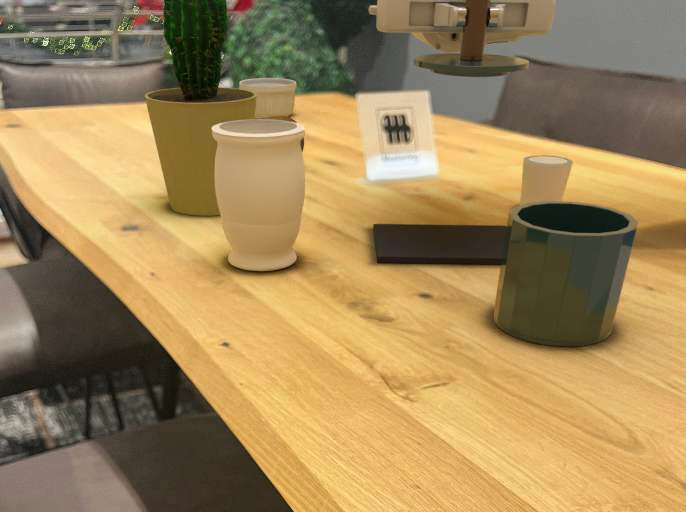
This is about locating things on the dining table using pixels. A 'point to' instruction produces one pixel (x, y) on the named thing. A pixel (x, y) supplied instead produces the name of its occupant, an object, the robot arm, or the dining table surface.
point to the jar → (260, 190)
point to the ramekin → (271, 95)
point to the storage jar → (563, 272)
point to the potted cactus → (194, 104)
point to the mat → (439, 243)
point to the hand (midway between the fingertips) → (478, 17)
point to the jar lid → (472, 50)
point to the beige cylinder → (544, 178)
